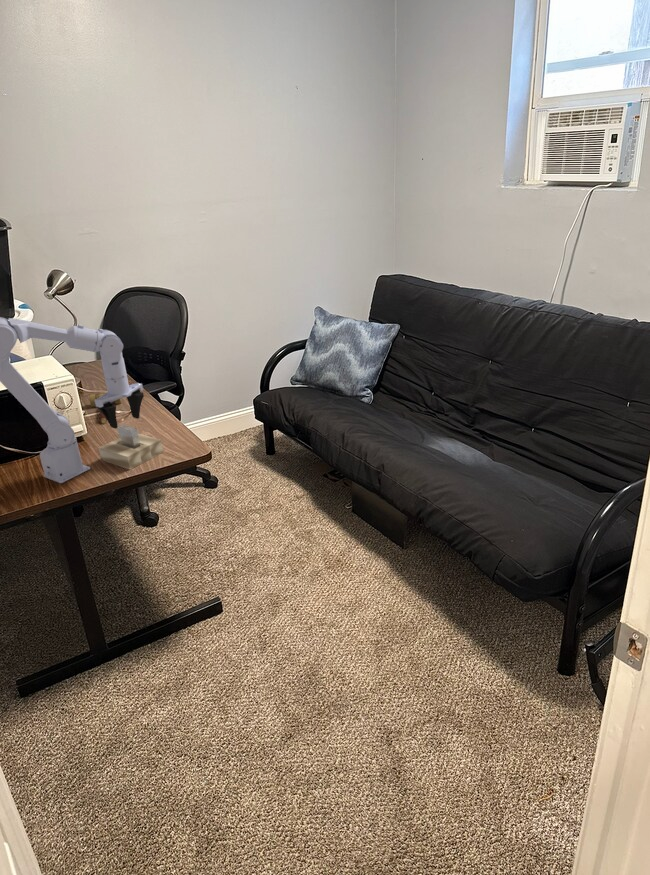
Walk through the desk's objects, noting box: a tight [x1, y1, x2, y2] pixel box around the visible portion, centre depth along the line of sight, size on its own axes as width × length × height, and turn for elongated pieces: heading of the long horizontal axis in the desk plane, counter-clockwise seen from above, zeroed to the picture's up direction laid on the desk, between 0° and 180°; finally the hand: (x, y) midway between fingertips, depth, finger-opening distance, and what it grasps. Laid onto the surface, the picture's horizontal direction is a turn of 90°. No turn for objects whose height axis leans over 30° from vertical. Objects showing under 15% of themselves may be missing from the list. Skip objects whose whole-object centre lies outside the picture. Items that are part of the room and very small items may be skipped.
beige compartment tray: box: [98, 432, 164, 471], centre depth 172 cm, size 12×12×4 cm
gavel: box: [88, 393, 123, 425], centre depth 204 cm, size 21×5×10 cm
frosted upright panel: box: [116, 424, 140, 449], centre depth 171 cm, size 2×6×9 cm, turn 57°
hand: (125, 422), depth 169 cm, fingers open, 7 cm apart
